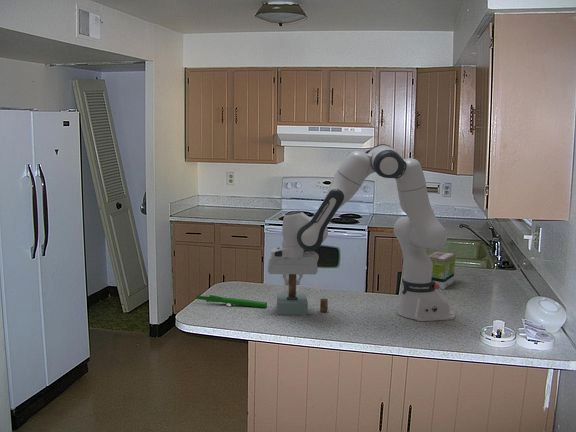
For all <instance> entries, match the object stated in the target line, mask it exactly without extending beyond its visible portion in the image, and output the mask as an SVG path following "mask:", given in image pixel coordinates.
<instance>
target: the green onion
mask: <svg viewBox="0 0 576 432" xmlns="http://www.w3.org/2000/svg"><path fill="white" fill-rule="evenodd" d="M195 299H197V300H202V301H205V302H209V303H210V302H212V303H222V304H225V305H226V306H228V307H232V306H233V307H235V306H236V305H237V306H245V307H252V308H261V309H267V307H268V302H267V301H258V300H257V301H256V300H252V299H244V298H243V299H242V298H233V297H222V296H219V295H212V294H209V296H207V295H205V296H204V295H196V297H195Z"/></svg>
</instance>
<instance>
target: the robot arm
mask: <svg viewBox="0 0 576 432" xmlns="http://www.w3.org/2000/svg"><path fill="white" fill-rule="evenodd" d="M374 173H376V174H377V175H378V176H379V177H381V178H384V179H395V182H396V187H397V189H396V190H397V193H398V194H397V195H398V200H399V206H400V209H401V210H402V212H403V213H405V215H406V216H403V217H399V218H398V219H397V220H396V221H395V222H394V226H393V234H394V236H395V237H396V239H397V241H398V243H399V245H400V249H401V252H402V257H403V278H402V280H401V288H400V289H401V290H400V291H401V298H400V302H399V306H398V310H397V314H398V315H400V316H401V317H404V318H407V319H410V320H411V319H413V320H414V321H418V322H431V321H433V322H435V321H446V320H448V321H450V320H454V319H455V318H456V315H455V314H456V313H455V312H454V311H453V309H450V305H449V301H448V299H447V297H445V296H444V295H443V294H441V293H440V292H439V291H438V290H440V289H439V288H440V286H439V284H437V283H435V282H434V281H432V280H431V278H432V261H431V259H430V258H429V256H428V255H429V254H428V253H427V250H433V251H434V250H435V251H436V250H440V249H442V248H443V247H444V246H445V245H446V243H447V241H448V232H447V229H446V228H445V226H443V225H442V224H441V223H440V221H439V219H438V218H437V216H436V215H435V213H434V210H433V208H432V205H431V201H430V198H429V194H428V188H427V182H426V179H425V178H426V177H425V174H424V170H423V167H422V165H421V163H420V161H418V159H416V158H412V157H409V158H408V157H407V158H403V157H401V155H400V154H399V153H398V151H396V149H394V147H393V146H390V145H389V144H385V143H381V144H377V145H375V146H373V147H371V148H370V149H369V150H366V151H365V152H364V151H362V150H353V151H352V152H350V153H349V154H348V156H347V157H345V159H344V160H343V161H342V163H341V164H340V166H339V167H338V169H337V170H336V171H335V174H334V176H333V177H332V179H331V181H330V184H329V186H328V189H327V192H326V195H325V197H324V198H323V201H322V203H320V206H319V207H318V209H317V210H316V212H315V213H314V215H313V216H312V217H311V216H308V215H307V214H306V213H304V212H303V211H301V210H297V211H295V210H294V211H290V212H288V213H286V214H285V215H284V216H283V219H282V231H281V234H282V242H281V243H282V244H281V245H280V246H277V247H273V248H272V249H271V251H270V256H269V259H268V261H267V262H268V264H267V273H268V274H269V275H282V278H283V281H284V280H285V285H289V280H287V279H286V274H298V278H297V280H296V285H297V286H299V285H300V284H301V283H300V281H301V280H302V279H303V275H317V274H318V271H319V270H318V261H319V255H320V254H318V252H316V250H318V249H319V248H320V247H321V245H322V244H323V243H324V242H325V240H326V239H327V238H328V235H329V229H328V226H329V224H330V222H331V221H332V219H333V217H334V216H335V215H336V214H337V211H339V209H340V208H342V206H344V205H345V204H346V203H348V202H349V201H350V200H351V199H352V198H353V197H354V196H355V195H356V194H357V192H358V191H359V190H360V188H361V187H362V185H363V184H364V182H365V181H366V179H367V178H368V176H370V175H371V174H374Z"/></svg>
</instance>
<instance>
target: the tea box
mask: <svg viewBox="0 0 576 432" xmlns="http://www.w3.org/2000/svg"><path fill="white" fill-rule="evenodd" d="M428 256H429V258H430V259H431V261H432V278H431V280H432V281H434V282H435V283H437V284H439V286H440V288H439V289H438V290H445V289H446V288H447V287H449V286H450V285H452V284H453V283H454V281H455V280H454V279H455V278H454V277H455V267H456V266H455V265H456V254H455V253H451V252H443V251H436V250H435V252H432V253H431V254H428Z"/></svg>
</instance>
